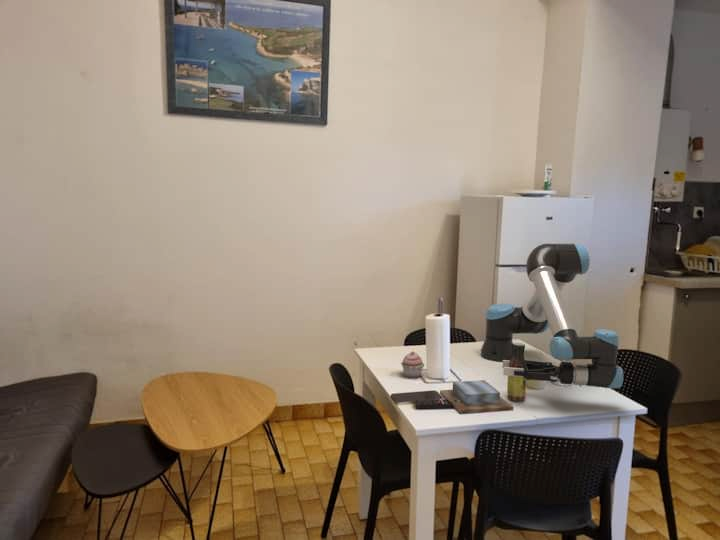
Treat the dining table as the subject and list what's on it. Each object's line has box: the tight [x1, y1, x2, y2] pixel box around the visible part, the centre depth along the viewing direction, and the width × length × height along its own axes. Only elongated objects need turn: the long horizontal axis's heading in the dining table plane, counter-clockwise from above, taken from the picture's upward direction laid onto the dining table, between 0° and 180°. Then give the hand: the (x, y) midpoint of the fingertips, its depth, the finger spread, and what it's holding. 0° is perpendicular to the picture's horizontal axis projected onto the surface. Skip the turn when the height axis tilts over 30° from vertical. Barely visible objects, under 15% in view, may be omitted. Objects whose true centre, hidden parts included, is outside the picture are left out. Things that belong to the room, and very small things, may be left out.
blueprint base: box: [439, 379, 514, 415], centre depth 179 cm, size 19×18×5 cm
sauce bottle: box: [506, 342, 528, 402], centre depth 181 cm, size 7×6×20 cm
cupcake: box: [400, 350, 425, 379], centre depth 203 cm, size 9×9×10 cm
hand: (503, 367), depth 182 cm, fingers open, 7 cm apart
